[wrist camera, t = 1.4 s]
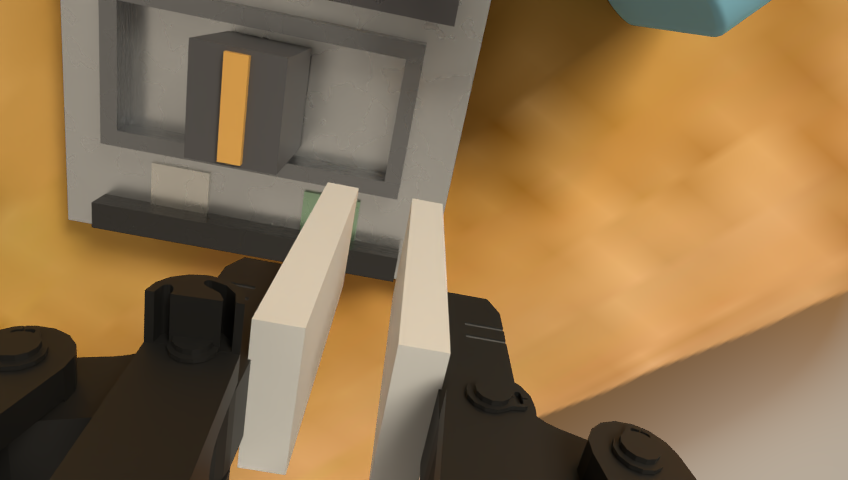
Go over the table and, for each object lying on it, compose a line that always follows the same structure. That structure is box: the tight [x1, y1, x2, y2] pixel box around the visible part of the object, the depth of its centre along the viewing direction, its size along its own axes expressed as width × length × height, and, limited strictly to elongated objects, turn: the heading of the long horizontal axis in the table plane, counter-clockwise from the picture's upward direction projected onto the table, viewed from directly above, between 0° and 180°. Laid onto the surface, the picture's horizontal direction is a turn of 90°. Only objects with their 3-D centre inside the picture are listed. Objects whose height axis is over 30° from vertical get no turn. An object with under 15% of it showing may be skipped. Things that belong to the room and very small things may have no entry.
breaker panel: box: [60, 0, 491, 282], centre depth 30 cm, size 18×20×4 cm
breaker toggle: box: [184, 31, 312, 175], centre depth 27 cm, size 5×4×5 cm
